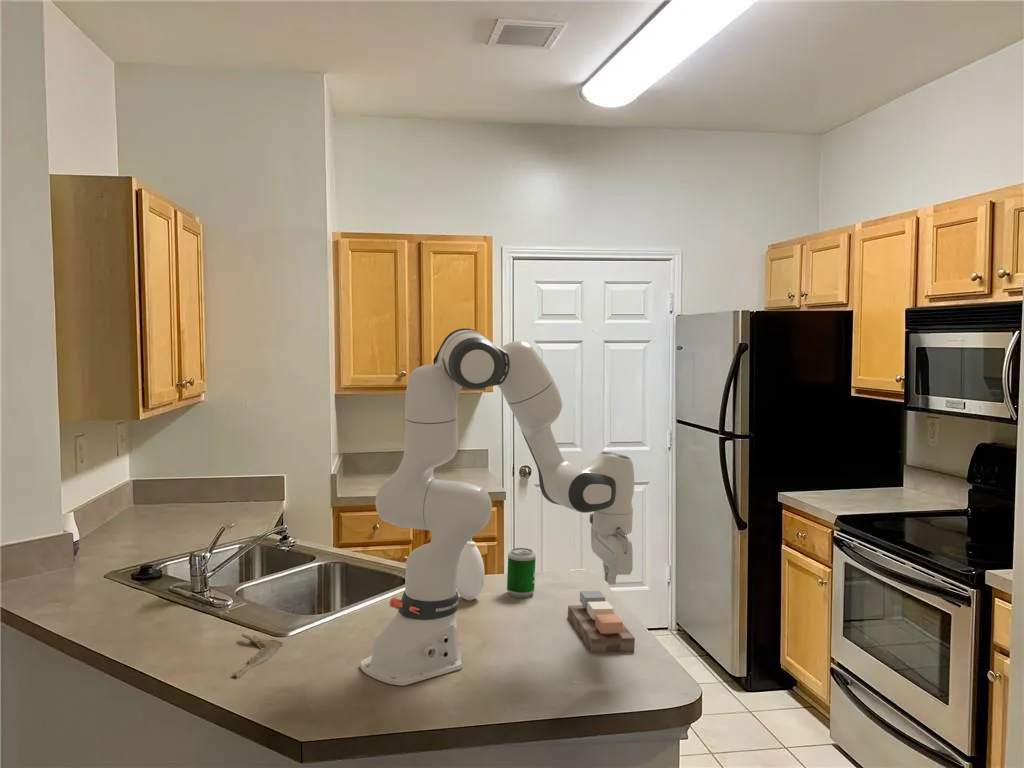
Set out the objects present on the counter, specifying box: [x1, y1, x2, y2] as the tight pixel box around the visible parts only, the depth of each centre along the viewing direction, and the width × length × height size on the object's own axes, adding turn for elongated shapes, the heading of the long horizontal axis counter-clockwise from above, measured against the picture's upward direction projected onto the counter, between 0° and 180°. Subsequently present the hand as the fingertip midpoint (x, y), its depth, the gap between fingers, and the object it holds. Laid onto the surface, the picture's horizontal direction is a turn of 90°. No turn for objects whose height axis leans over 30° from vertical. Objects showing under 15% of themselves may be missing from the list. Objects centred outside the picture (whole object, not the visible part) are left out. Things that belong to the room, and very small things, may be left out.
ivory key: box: [587, 600, 615, 623], centre depth 188 cm, size 5×5×6 cm
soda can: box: [506, 547, 537, 598], centre depth 214 cm, size 8×8×12 cm
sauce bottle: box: [456, 537, 486, 601], centre depth 208 cm, size 8×8×18 cm
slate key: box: [579, 590, 606, 613], centre depth 195 cm, size 5×5×6 cm
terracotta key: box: [595, 613, 624, 635], centre depth 181 cm, size 5×5×6 cm
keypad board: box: [567, 604, 636, 654], centre depth 188 cm, size 22×10×3 cm, turn 10°
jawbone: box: [232, 633, 283, 679], centre depth 169 cm, size 9×20×2 cm, turn 14°
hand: (609, 582), depth 181 cm, fingers closed
